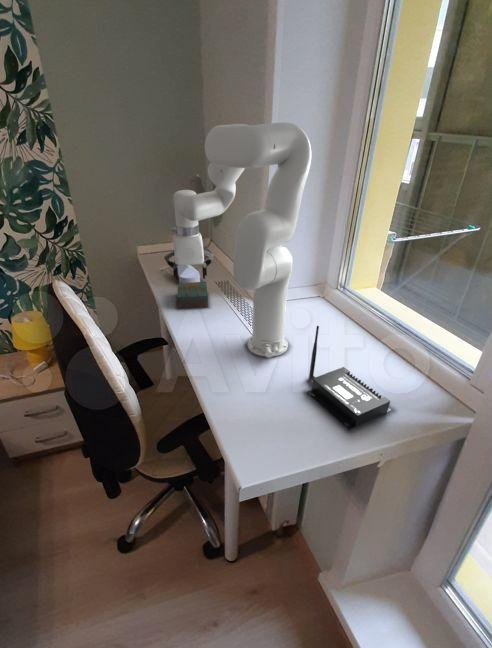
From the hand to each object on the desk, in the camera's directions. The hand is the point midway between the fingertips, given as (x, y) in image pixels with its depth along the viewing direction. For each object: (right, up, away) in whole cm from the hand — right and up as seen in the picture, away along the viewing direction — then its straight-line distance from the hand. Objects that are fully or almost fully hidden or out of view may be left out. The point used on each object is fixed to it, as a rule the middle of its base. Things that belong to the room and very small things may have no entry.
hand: (190, 277), depth 137 cm
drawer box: (0, -7, +10) cm, 12 cm away
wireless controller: (+42, -38, -39) cm, 69 cm away
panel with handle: (0, -4, +8) cm, 9 cm away
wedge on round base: (-3, +4, +28) cm, 28 cm away
